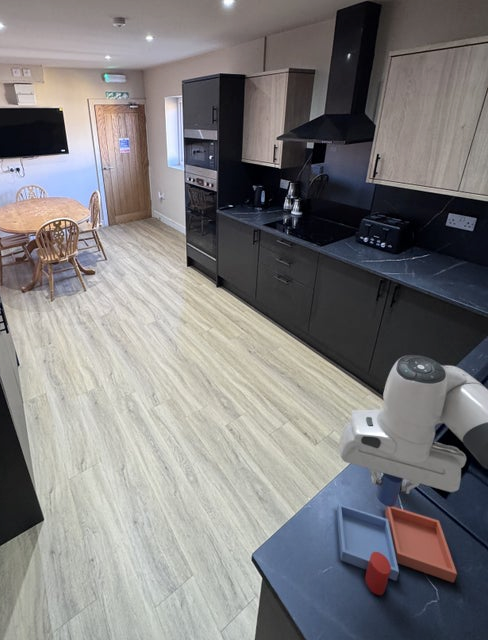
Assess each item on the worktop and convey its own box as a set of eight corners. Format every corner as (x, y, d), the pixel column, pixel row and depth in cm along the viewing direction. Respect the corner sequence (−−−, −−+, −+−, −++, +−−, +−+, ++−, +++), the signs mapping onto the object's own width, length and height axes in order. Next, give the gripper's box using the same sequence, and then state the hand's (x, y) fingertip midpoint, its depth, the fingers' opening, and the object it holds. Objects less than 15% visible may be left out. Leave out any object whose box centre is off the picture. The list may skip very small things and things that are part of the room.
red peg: (382, 576, 68) (388, 555, 66) (386, 598, 65) (392, 577, 63) (363, 569, 69) (369, 548, 67) (366, 590, 66) (372, 569, 64)
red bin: (436, 529, 76) (439, 520, 75) (453, 583, 67) (457, 574, 66) (384, 512, 80) (387, 504, 79) (395, 562, 70) (397, 553, 70)
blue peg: (393, 491, 68) (400, 468, 66) (398, 509, 65) (405, 485, 63) (374, 486, 69) (380, 462, 67) (377, 503, 66) (384, 479, 64)
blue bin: (385, 527, 77) (387, 519, 76) (396, 581, 68) (399, 572, 67) (336, 511, 80) (338, 503, 79) (340, 560, 71) (342, 551, 70)
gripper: (461, 436, 61) (443, 487, 65) (343, 408, 68) (334, 456, 72) (477, 467, 55) (456, 520, 60) (346, 433, 62) (336, 483, 66)
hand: (389, 485), depth 66 cm, fingers closed on blue peg, 3 cm apart
